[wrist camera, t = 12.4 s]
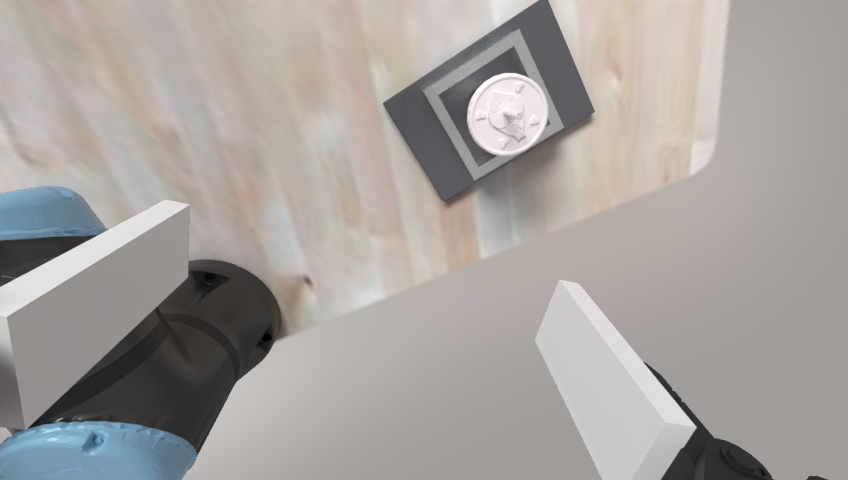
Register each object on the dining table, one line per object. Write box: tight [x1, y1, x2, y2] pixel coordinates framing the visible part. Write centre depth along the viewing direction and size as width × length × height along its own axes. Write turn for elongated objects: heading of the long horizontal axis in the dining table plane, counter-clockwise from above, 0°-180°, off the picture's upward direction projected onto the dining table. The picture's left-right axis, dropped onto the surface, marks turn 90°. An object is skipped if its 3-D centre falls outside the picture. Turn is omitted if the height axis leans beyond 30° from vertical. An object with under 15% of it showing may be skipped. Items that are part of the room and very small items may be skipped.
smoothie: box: [467, 73, 548, 156], centre depth 34 cm, size 6×6×14 cm
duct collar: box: [383, 0, 595, 201], centre depth 40 cm, size 18×12×4 cm, turn 121°
